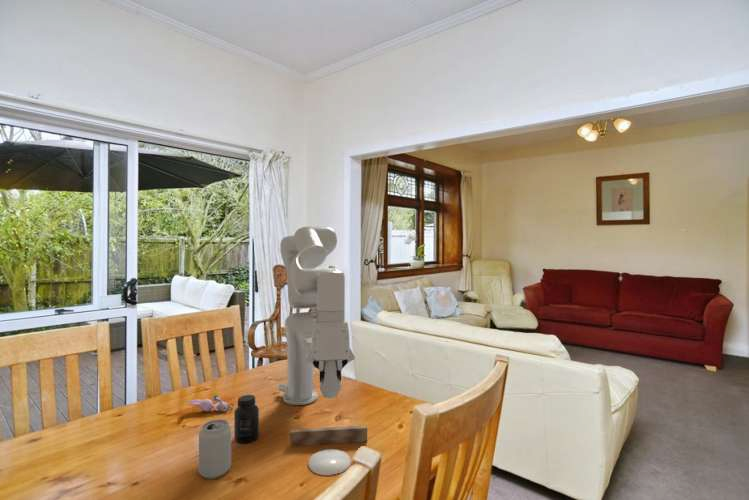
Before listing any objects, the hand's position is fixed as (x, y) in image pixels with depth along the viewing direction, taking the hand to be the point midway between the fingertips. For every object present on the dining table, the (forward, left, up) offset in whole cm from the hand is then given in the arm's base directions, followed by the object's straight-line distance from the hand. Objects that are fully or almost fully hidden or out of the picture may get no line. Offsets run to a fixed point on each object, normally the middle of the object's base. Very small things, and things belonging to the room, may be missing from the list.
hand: (330, 383), depth 102 cm
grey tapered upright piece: (0, 0, -3) cm, 3 cm away
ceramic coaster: (+1, -3, -20) cm, 20 cm away
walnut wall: (-3, +6, -20) cm, 21 cm away
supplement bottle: (-27, +1, -20) cm, 33 cm away
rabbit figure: (-49, +13, -20) cm, 55 cm away
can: (-25, -15, -20) cm, 35 cm away
